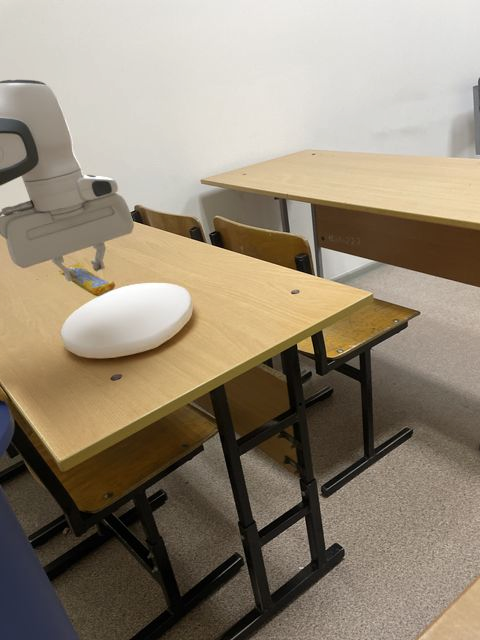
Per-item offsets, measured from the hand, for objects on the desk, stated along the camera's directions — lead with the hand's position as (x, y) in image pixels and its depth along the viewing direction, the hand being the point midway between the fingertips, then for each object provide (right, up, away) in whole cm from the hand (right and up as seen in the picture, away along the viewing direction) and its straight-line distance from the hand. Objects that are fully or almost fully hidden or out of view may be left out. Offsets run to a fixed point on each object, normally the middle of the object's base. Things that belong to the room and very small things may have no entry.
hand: (86, 274), depth 90 cm
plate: (+3, -9, +20) cm, 22 cm away
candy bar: (0, -2, +1) cm, 2 cm away
